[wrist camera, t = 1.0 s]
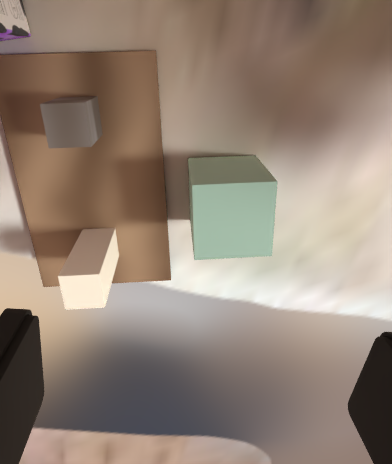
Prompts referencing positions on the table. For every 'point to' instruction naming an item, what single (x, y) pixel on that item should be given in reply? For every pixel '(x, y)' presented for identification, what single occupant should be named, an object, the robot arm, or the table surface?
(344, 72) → the table surface
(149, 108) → the walnut board
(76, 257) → the cream post
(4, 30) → the candy box
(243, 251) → the mint green cube
